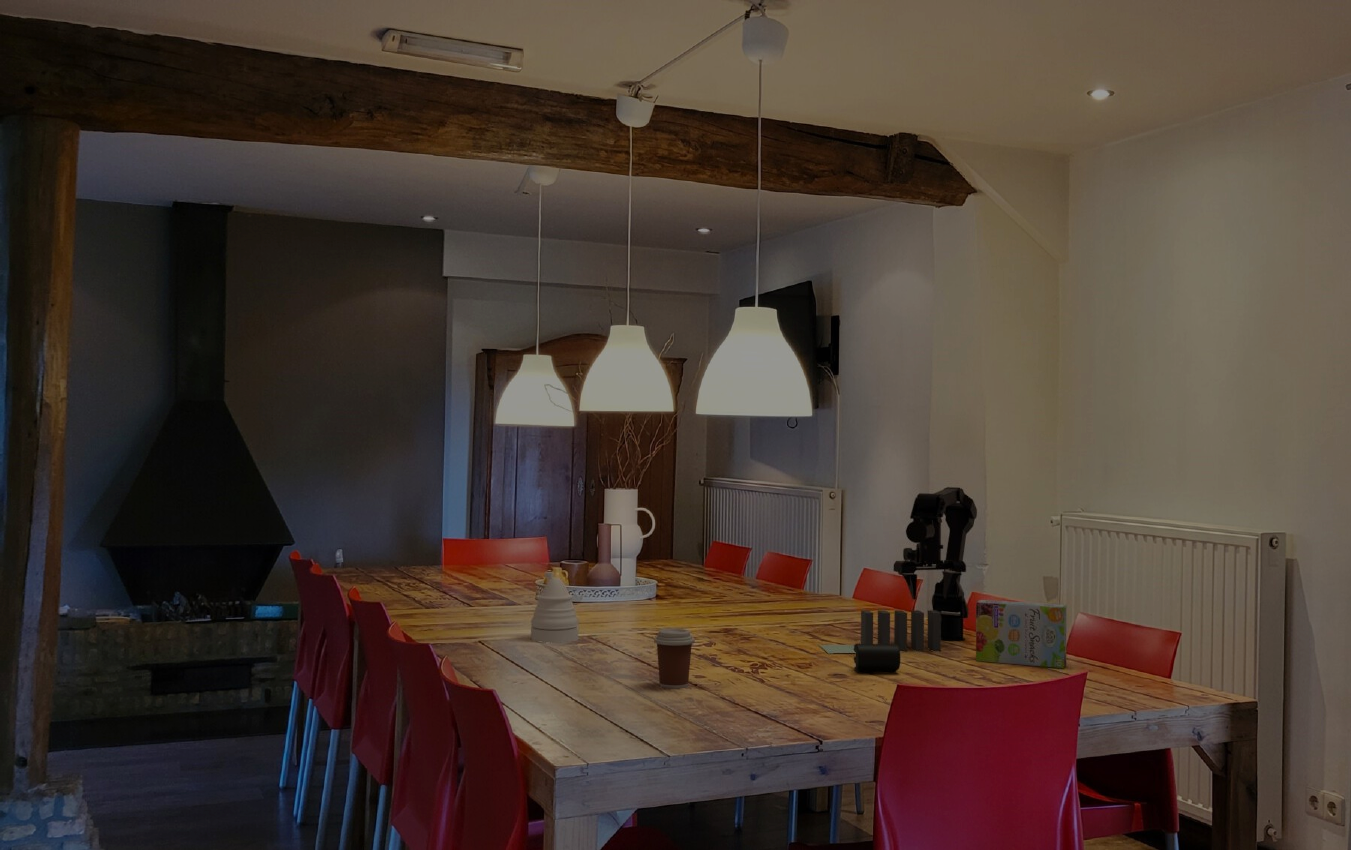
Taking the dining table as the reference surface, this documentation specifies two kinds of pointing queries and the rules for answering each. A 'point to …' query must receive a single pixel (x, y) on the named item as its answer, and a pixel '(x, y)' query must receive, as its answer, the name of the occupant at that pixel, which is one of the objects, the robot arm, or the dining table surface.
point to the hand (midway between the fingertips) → (929, 598)
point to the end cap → (877, 657)
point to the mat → (838, 648)
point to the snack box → (1021, 633)
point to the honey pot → (554, 614)
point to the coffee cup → (674, 657)
